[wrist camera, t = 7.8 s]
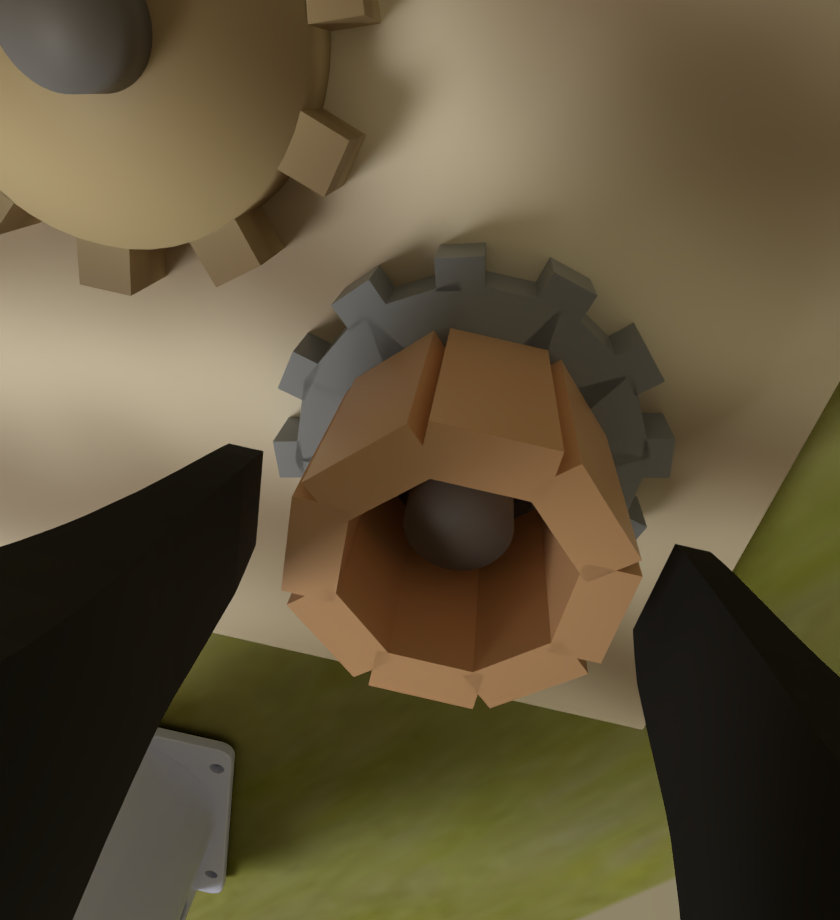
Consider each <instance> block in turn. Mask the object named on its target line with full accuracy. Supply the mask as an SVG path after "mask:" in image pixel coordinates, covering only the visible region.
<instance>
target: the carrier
mask: <svg viewBox="0 0 840 920" xmlns="http://www.w3.org/2000/svg"><path fill="white" fill-rule="evenodd" d="M465 243H486V265H487V271H489V272H494V273H498V274H503V275H507V276H511V277H516V278H520V279H524V280H529V281H533V282H536V281H537V279H538V277H539V276H540V274H541V272H542V270H543V269H544V267H545V265H546V264H547V262H548V260H549V259H550V257H551V258H553V259H555V260H556V261H558V262H560V263H562V264H564V265H566V266H567V267H569V268H571V269H573V270H575V271H577V272H578V273H580V274H582V275H584V276H586V277H588V278H589V279H590V280H591V282H592V284H593V287H594V289H595V291H596V293H597V297H596V299H595V300H594V302H593V304H592V305H591V307H590V308H589V310H588V311H587V313H586V315H587V316H588V317H590V318H591V319H592V320H593V321H594V322H595V323H596V324H597V325H598V326H599V327H600V328H601V329H602V330H603V331H604V332H605V333H606V334H607V335H608V336H610V335H612V334H613V333H615V332H617V331H619V330H621V329H623V328H624V327H626V326H628V325H630V324H632V323H634V324H635V326H636V328H637V330H638V331H639V333H640V335H641V337H642V339H643V341H644V342H645V344H646V346H647V348H648V350H649V352H650V354H651V356H652V358H653V359H654V361H655V363H656V365H657V367H658V369H659V371H660V373H661V375H662V376H663V378H664V380H665V382H663V383H661V384H659V385H657V386H655V387H653V388H651V389H649V390H647V391H645V392H643V393H641V394H639V395H638V397H639V402H640V407H641V412H642V413H663V414H664V416H665V418H666V421H667V423H668V425H669V427H670V429H671V431H672V433H673V435H674V437H675V445H674V452H673V459H672V467H671V474H670V478H642V480H641V482H640V485H639V487H638V489H637V491H636V494H635V496H637V497H638V500H639V503H640V506H641V510H642V513H643V516H644V519H645V522H646V525H647V528H646V529H645V530H644V531H643V533H642V534H641V535H640V536H639V537H638V538H637V540H636V541H637V545H638V548H639V552H640V555H641V559H642V561H639V565H640V569H641V572H642V576H643V577H642V579H641V582H640V584H639V586H638V588H637V590H636V592H635V594H634V596H633V598H632V600H631V602H630V604H629V606H628V608H627V611H626V613H625V615H624V617H623V619H622V621H621V623H620V625H619V627H618V629H617V631H616V633H615V635H614V638H613V640H612V642H611V644H610V646H609V648H608V650H607V652H606V654H605V656H604V658H603V660H602V662H601V664H600V663H596V662H591V661H587V660H586V662H587V669H588V674H587V675H584V676H581V677H578V678H575V679H572V680H569V681H567V682H564V683H561V684H558V685H555V686H552V687H549V688H547V689H544V690H541V691H538V692H535V693H532V694H530V695H527V696H524V697H521V698H518V699H515V700H513V701H517V702H521V703H526V704H530V705H535V706H539V707H543V708H548V709H552V710H557V711H561V712H566V713H570V714H574V715H579V716H583V717H588V718H592V719H597V720H601V721H605V722H610V723H614V724H619V725H623V726H627V727H632V728H636V729H641V730H643V728H644V727H645V725H646V723H645V718H644V714H643V709H642V705H641V700H640V696H639V691H638V686H637V679H636V668H635V658H634V642H633V628H634V626H635V624H636V622H637V620H638V618H639V616H640V614H641V612H642V610H643V608H644V606H645V604H646V602H647V600H648V598H649V596H650V594H651V592H652V590H653V588H654V586H655V584H656V582H657V580H658V578H659V576H660V574H661V572H662V570H663V568H664V565H665V563H666V561H667V559H668V557H669V555H670V553H671V551H672V549H673V547H674V545H675V544H678V545H682V546H687V547H691V548H696V549H700V550H705V551H709V552H711V553H712V554H714V555H715V556H716V557H717V558H718V559H719V560H720V561H722V562H723V563H724V564H725V565H726V566H727V567H728V568H729V569H730V570H731V571H733V569H734V567H735V566H736V564H737V562H738V560H739V559H740V557H741V555H742V553H743V552H744V550H745V548H746V546H747V544H748V543H749V541H750V539H751V537H752V536H753V534H754V532H755V530H756V529H757V527H758V525H759V523H760V521H761V520H762V518H763V516H764V514H765V513H766V511H767V509H768V507H769V506H770V504H771V502H772V500H773V498H774V497H775V495H776V493H777V491H778V490H779V488H780V486H781V484H782V483H783V481H784V479H785V477H786V476H787V474H788V472H789V470H790V468H791V467H792V465H793V463H794V461H795V460H796V458H797V456H798V454H799V453H800V451H801V449H802V447H803V445H804V444H805V442H806V440H807V438H808V437H809V435H810V433H811V431H812V430H813V428H814V426H815V424H816V422H817V421H818V419H819V417H820V415H821V414H822V412H823V410H824V408H825V407H826V405H827V403H828V401H829V399H830V398H831V396H832V394H833V392H834V391H835V389H836V387H837V385H838V384H839V382H840V0H0V547H1V546H4V545H7V544H10V543H13V542H16V541H19V540H22V539H25V538H28V537H31V536H33V535H36V534H39V533H42V532H44V531H47V530H50V529H53V528H55V527H58V526H60V525H63V524H66V523H68V522H71V521H73V520H75V519H78V518H80V517H83V516H85V515H87V514H90V513H92V512H94V511H96V510H98V509H100V508H102V507H105V506H107V505H109V504H111V503H113V502H115V501H118V500H120V499H122V498H124V497H126V496H128V495H131V494H133V493H135V492H137V491H139V490H141V489H143V488H145V487H147V486H149V485H151V484H153V483H155V482H157V481H159V480H160V479H162V478H164V477H166V476H168V475H170V474H172V473H174V472H176V471H178V470H180V469H181V468H183V467H185V466H187V465H189V464H191V463H192V462H194V461H196V460H198V459H200V458H202V457H203V456H205V455H207V454H209V453H211V452H213V451H215V450H216V449H218V448H220V447H222V446H224V445H227V444H229V443H230V444H234V445H239V446H243V447H247V448H252V449H256V450H261V451H263V464H262V476H261V489H260V501H259V514H258V526H257V539H256V546H255V548H254V551H253V553H252V556H251V558H250V561H249V563H248V565H247V568H246V570H245V573H244V575H243V577H242V579H241V582H240V584H239V586H238V588H237V591H236V593H235V595H234V596H233V598H232V600H231V602H230V603H229V605H228V607H227V609H226V610H225V612H224V614H223V615H222V617H221V619H220V620H219V622H218V624H217V626H216V627H215V629H214V631H213V632H212V633H216V634H221V635H225V636H230V637H234V638H238V639H243V640H247V641H252V642H256V643H260V644H265V645H269V646H274V647H278V648H283V649H287V650H291V651H296V652H300V653H305V654H309V655H314V656H318V657H322V658H327V659H331V660H336V661H338V660H337V659H336V658H335V657H334V656H333V654H332V653H331V652H330V651H329V650H328V649H327V648H326V647H325V646H324V645H323V644H322V643H321V642H320V640H319V639H318V638H317V637H316V636H315V635H314V634H313V633H312V632H311V631H310V630H309V629H308V628H307V626H306V625H305V624H304V623H303V622H302V621H301V620H300V619H299V618H298V617H297V616H296V615H295V614H294V612H293V611H292V610H291V609H290V608H289V607H288V606H287V603H288V600H289V598H290V596H291V593H290V592H285V591H281V586H282V578H283V569H284V560H285V551H286V543H287V534H288V525H289V517H290V508H291V499H292V495H293V493H294V491H295V490H296V488H297V486H298V484H299V482H300V480H301V478H280V476H279V471H278V466H277V461H276V456H275V451H274V445H273V440H274V439H275V437H276V436H277V434H278V433H279V431H280V430H281V428H282V427H283V425H284V424H285V422H286V421H287V419H288V418H289V417H300V412H301V404H302V400H301V399H299V398H297V397H295V396H292V395H290V394H288V393H286V392H284V391H282V390H280V389H278V386H279V384H280V381H281V379H282V376H283V374H284V372H285V369H286V367H287V364H288V362H289V359H290V357H291V354H292V352H293V351H294V349H295V348H296V347H297V346H298V344H299V343H300V342H301V341H302V339H303V338H304V337H305V336H306V334H307V333H308V332H309V333H311V334H313V335H315V336H317V337H319V338H321V339H323V340H325V341H327V342H329V343H331V344H332V342H333V341H334V340H335V339H336V338H337V337H338V335H339V334H340V333H341V332H342V331H343V330H344V328H345V327H346V325H345V324H344V322H343V321H342V320H341V318H340V317H339V316H338V314H337V313H336V311H335V310H334V309H333V307H332V306H331V304H332V303H333V302H334V301H335V299H336V298H337V297H338V296H339V294H340V293H341V292H342V291H343V290H344V288H346V287H347V286H349V285H350V284H352V283H353V282H355V281H356V280H357V279H359V278H360V277H362V276H363V275H365V274H366V273H368V272H369V271H371V270H372V269H374V268H375V267H377V266H378V265H380V266H381V267H382V269H383V270H384V272H385V273H386V275H387V276H388V278H389V279H390V281H391V282H392V284H393V285H394V287H398V286H401V285H404V284H407V283H410V282H414V281H417V280H420V279H423V278H426V277H429V276H433V275H435V265H434V258H435V255H436V253H437V251H438V248H439V246H440V245H443V244H465ZM403 527H404V533H405V536H406V538H407V540H408V542H409V544H410V545H411V547H412V548H413V549H414V551H415V552H416V553H417V554H418V555H420V556H421V557H422V558H423V559H425V560H426V561H428V562H430V563H432V564H434V565H436V566H439V567H442V568H445V569H450V570H460V571H461V570H473V569H477V568H481V567H484V566H486V565H488V564H490V563H492V562H494V561H495V560H497V559H498V558H499V557H500V556H501V555H503V553H504V552H505V551H506V550H507V548H508V547H509V545H510V543H511V540H512V537H513V533H514V500H513V498H512V497H508V496H503V495H499V494H495V493H490V492H486V491H481V490H477V489H473V488H468V487H464V486H460V485H455V484H451V483H446V482H442V481H438V480H433V479H429V480H427V481H425V482H423V483H421V484H419V485H417V486H415V487H413V488H411V489H410V492H409V496H408V500H407V504H406V508H405V513H404V518H403Z"/></svg>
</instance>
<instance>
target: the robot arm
mask: <svg viewBox="0 0 840 920" xmlns="http://www.w3.org/2000/svg"><path fill="white" fill-rule="evenodd" d="M262 464H263V451H261V450H256V449H252V448H247V447H243V446H239V445H234V444H230V443H229V444H227V445H224V446H222V447H220V448H218V449H216V450H215V451H213V452H211V453H209V454H207V455H205V456H203V457H202V458H200V459H198V460H196V461H194V462H192V463H191V464H189V465H187V466H185V467H183V468H181V469H180V470H178V471H176V472H174V473H172V474H170V475H168V476H166V477H164V478H162V479H160V480H159V481H157V482H155V483H153V484H151V485H149V486H147V487H145V488H143V489H141V490H139V491H137V492H135V493H133V494H131V495H128V496H126V497H124V498H122V499H120V500H118V501H115V502H113V503H111V504H109V505H107V506H105V507H102V508H100V509H98V510H96V511H94V512H92V513H90V514H87V515H85V516H83V517H80V518H78V519H75V520H73V521H71V522H68V523H66V524H63V525H60V526H58V527H55V528H53V529H50V530H47V531H44V532H42V533H39V534H36V535H33V536H31V537H28V538H25V539H22V540H19V541H16V542H13V543H10V544H7V545H4V546H1V547H0V920H185V919H186V917H187V914H188V911H189V909H190V906H191V904H192V901H193V898H194V896H195V893H196V891H197V890H200V891H204V892H208V893H219V892H221V891H222V889H223V887H224V884H225V881H226V868H227V855H228V841H229V828H230V814H231V801H232V788H233V774H234V761H235V752H234V750H233V748H232V747H231V746H230V745H228V744H227V743H224V742H221V741H217V740H212V739H208V738H203V737H199V736H195V735H190V734H186V733H181V732H177V731H173V730H168V729H164V728H159V727H158V726H159V724H160V722H161V720H162V718H163V716H164V714H165V712H166V711H167V709H168V707H169V705H170V703H171V701H172V699H173V698H174V696H175V694H176V693H177V691H178V689H179V688H180V686H181V684H182V683H183V681H184V679H185V678H186V676H187V674H188V673H189V671H190V669H191V668H192V666H193V664H194V662H195V661H196V659H197V657H198V656H199V654H200V652H201V651H202V649H203V647H204V646H205V644H206V642H207V641H208V639H209V637H210V636H211V634H212V632H213V631H214V629H215V627H216V626H217V624H218V622H219V620H220V619H221V617H222V615H223V614H224V612H225V610H226V609H227V607H228V605H229V603H230V602H231V600H232V598H233V596H234V595H235V593H236V591H237V588H238V586H239V584H240V582H241V579H242V577H243V575H244V573H245V570H246V568H247V565H248V563H249V561H250V558H251V556H252V553H253V551H254V548H255V546H256V539H257V526H258V514H259V501H260V489H261V476H262ZM633 642H634V658H635V668H636V679H637V686H638V691H639V696H640V700H641V705H642V709H643V714H644V718H645V723H646V728H647V732H648V736H649V741H650V745H651V749H652V753H653V758H654V762H655V766H656V771H657V775H658V780H659V784H660V788H661V793H662V797H663V801H664V806H665V810H666V815H667V821H668V826H669V831H670V837H671V843H672V851H673V860H674V868H675V876H676V884H677V892H678V900H679V908H680V919H681V920H840V677H839V676H838V675H837V674H836V673H835V672H833V671H832V670H831V669H830V668H829V667H828V666H827V665H826V664H825V663H824V662H823V661H822V660H821V659H819V658H818V657H817V656H816V655H815V654H814V653H813V652H812V651H811V650H810V649H809V648H808V647H807V646H806V645H805V644H804V643H803V642H802V641H801V640H800V639H799V638H798V637H797V636H796V635H795V634H794V633H793V632H792V631H791V630H790V629H789V628H788V627H787V626H786V625H785V624H784V623H783V622H782V621H781V620H780V619H779V618H778V617H777V616H776V615H775V614H774V613H773V612H772V611H771V610H770V609H769V608H768V607H767V606H766V605H765V604H764V603H763V602H762V601H761V600H760V599H759V598H758V597H757V596H756V595H755V594H754V593H753V592H752V591H751V590H750V589H749V588H748V587H747V586H746V585H745V584H744V583H743V582H742V581H741V580H740V579H739V578H738V577H737V576H736V575H735V574H734V573H733V572H732V571H731V570H730V569H729V568H728V567H727V566H726V565H725V564H724V563H723V562H722V561H720V560H719V559H718V558H717V557H716V556H715V555H714V554H712V553H711V552H709V551H705V550H700V549H696V548H691V547H687V546H682V545H678V544H675V545H674V547H673V549H672V551H671V553H670V555H669V557H668V559H667V561H666V563H665V565H664V568H663V570H662V572H661V574H660V576H659V578H658V580H657V582H656V584H655V586H654V588H653V590H652V592H651V594H650V596H649V598H648V600H647V602H646V604H645V606H644V608H643V610H642V612H641V614H640V616H639V618H638V620H637V622H636V624H635V626H634V628H633Z"/></svg>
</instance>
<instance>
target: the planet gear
mask: <svg viewBox="0 0 840 920" xmlns="http://www.w3.org/2000/svg"><path fill="white" fill-rule="evenodd" d="M434 265H435V275H433V276H429V277H426V278H423V279H420V280H417V281H414V282H410V283H407V284H404V285H401V286H398V287H394V285H393V284H392V282H391V281H390V279H389V278H388V276H387V275H386V273H385V272H384V270H383V269H382V267H381V266H380V265H378V266H377V267H375V268H374V269H372V270H371V271H369V272H368V273H366V274H365V275H363V276H362V277H360V278H359V279H357V280H356V281H355V282H353V283H352V284H350V285H349V286H347V287H346V288H344V290H343V291H342V292H341V293H340V294H339V296H338V297H337V298H336V299H335V301H334V302H333V303H332V304H331V306H332V307H333V309H334V310H335V311H336V313H337V314H338V316H339V317H340V318H341V320H342V321H343V322H344V324H345V325H346V327H345V328H344V330H343V331H342V332H341V333H340V334H339V335H338V337H337V338H336V339H335V340H334V341H333V342H332V344H331V343H329V342H327V341H325V340H323V339H321V338H319V337H317V336H315V335H313V334H311V333H309V332H308V333H307V334H306V336H305V337H304V338H303V339H302V341H301V342H300V343H299V344H298V346H297V347H296V348H295V349H294V351H293V352H292V354H291V357H290V359H289V362H288V364H287V367H286V369H285V372H284V374H283V376H282V379H281V381H280V384H279V386H278V389H280V390H282V391H284V392H286V393H288V394H290V395H292V396H295V397H297V398H299V399H301V400H302V404H301V412H300V417H289V418H288V419H287V421H286V422H285V424H284V425H283V427H282V428H281V430H280V431H279V433H278V434H277V436H276V437H275V439H274V440H273V445H274V451H275V456H276V461H277V466H278V471H279V476H280V478H301V480H300V482H299V484H298V486H297V488H296V490H295V491H294V493H293V495H292V499H291V508H290V517H289V525H288V534H287V543H286V551H285V560H284V569H283V578H282V586H281V591H285V592H290V593H291V596H290V598H289V600H288V603H287V606H288V607H289V608H290V609H291V610H292V611H293V612H294V614H295V615H296V616H297V617H298V618H299V619H300V620H301V621H302V622H303V623H304V624H305V625H306V626H307V628H308V629H309V630H310V631H311V632H312V633H313V634H314V635H315V636H316V637H317V638H318V639H319V640H320V642H321V643H322V644H323V645H324V646H325V647H326V648H327V649H328V650H329V651H330V652H331V653H332V654H333V656H334V657H335V658H336V659H337V660H338V661H339V662H340V663H341V664H342V665H343V666H344V667H345V668H346V670H347V671H348V672H349V673H350V674H351V675H352V676H353V677H356V676H358V675H360V674H363V673H365V672H368V671H370V670H372V672H371V676H370V681H369V686H373V687H378V688H382V689H387V690H391V691H395V692H400V693H404V694H408V695H413V696H417V697H422V698H426V699H430V700H435V701H439V702H443V703H448V704H452V705H456V706H461V707H465V708H470V709H473V706H474V704H475V701H476V698H477V695H479V696H480V697H481V698H482V700H483V701H484V702H485V703H486V704H487V706H488V707H489V708H492V707H495V706H498V705H501V704H504V703H507V702H510V701H512V700H515V699H518V698H521V697H524V696H527V695H530V694H532V693H535V692H538V691H541V690H544V689H547V688H549V687H552V686H555V685H558V684H561V683H564V682H567V681H569V680H572V679H575V678H578V677H581V676H584V675H587V674H588V669H587V662H586V660H587V661H591V662H596V663H600V664H601V662H602V660H603V658H604V656H605V654H606V652H607V650H608V648H609V646H610V644H611V642H612V640H613V638H614V635H615V633H616V631H617V629H618V627H619V625H620V623H621V621H622V619H623V617H624V615H625V613H626V611H627V608H628V606H629V604H630V602H631V600H632V598H633V596H634V594H635V592H636V590H637V588H638V586H639V584H640V582H641V579H642V577H643V576H642V572H641V569H640V565H639V561H642V559H641V555H640V552H639V548H638V545H637V541H636V540H637V538H638V537H639V536H640V535H641V534H642V533H643V531H644V530H645V529H646V528H647V525H646V522H645V519H644V516H643V513H642V510H641V506H640V503H639V500H638V497H637V496H635V494H636V491H637V489H638V487H639V485H640V482H641V480H642V478H670V474H671V467H672V459H673V452H674V445H675V437H674V435H673V433H672V431H671V429H670V427H669V425H668V423H667V421H666V418H665V416H664V414H663V413H642V412H641V407H640V402H639V397H638V395H639V394H641V393H643V392H645V391H647V390H649V389H651V388H653V387H655V386H657V385H659V384H661V383H663V382H665V380H664V378H663V376H662V375H661V373H660V371H659V369H658V367H657V365H656V363H655V361H654V359H653V358H652V356H651V354H650V352H649V350H648V348H647V346H646V344H645V342H644V341H643V339H642V337H641V335H640V333H639V331H638V330H637V328H636V326H635V324H634V323H632V324H630V325H628V326H626V327H624V328H623V329H621V330H619V331H617V332H615V333H613V334H612V335H610V336H608V335H607V334H606V333H605V332H604V331H603V330H602V329H601V328H600V327H599V326H598V325H597V324H596V323H595V322H594V321H593V320H592V319H591V318H590V317H588V316H587V315H586V313H587V311H588V310H589V308H590V307H591V305H592V304H593V302H594V300H595V299H596V297H597V293H596V291H595V289H594V287H593V284H592V282H591V280H590V279H589V278H588V277H586V276H584V275H582V274H580V273H578V272H577V271H575V270H573V269H571V268H569V267H567V266H566V265H564V264H562V263H560V262H558V261H556V260H555V259H553V258H551V257H550V259H549V260H548V262H547V264H546V265H545V267H544V269H543V270H542V272H541V274H540V276H539V277H538V279H537V281H536V282H533V281H529V280H524V279H520V278H516V277H511V276H507V275H503V274H498V273H494V272H489V271H487V265H486V243H465V244H443V245H440V246H439V248H438V251H437V253H436V255H435V258H434ZM429 479H433V480H438V481H442V482H446V483H451V484H455V485H460V486H464V487H468V488H473V489H477V490H481V491H486V492H490V493H495V494H499V495H503V496H508V497H512V498H513V500H514V533H513V537H512V540H511V543H510V545H509V547H508V548H507V550H506V551H505V552H504V553H503V555H501V556H500V557H499V558H498V559H497V560H495V561H494V562H492V563H490V564H488V565H486V566H484V567H481V568H477V569H473V570H461V571H460V570H450V569H445V568H442V567H439V566H436V565H434V564H432V563H430V562H428V561H426V560H425V559H423V558H422V557H421V556H420V555H418V554H417V553H416V552H415V551H414V549H413V548H412V547H411V545H410V544H409V542H408V540H407V538H406V536H405V533H404V527H403V518H404V513H405V508H406V504H407V500H408V496H409V492H410V489H411V488H413V487H415V486H417V485H419V484H421V483H423V482H425V481H427V480H429Z"/></svg>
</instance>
